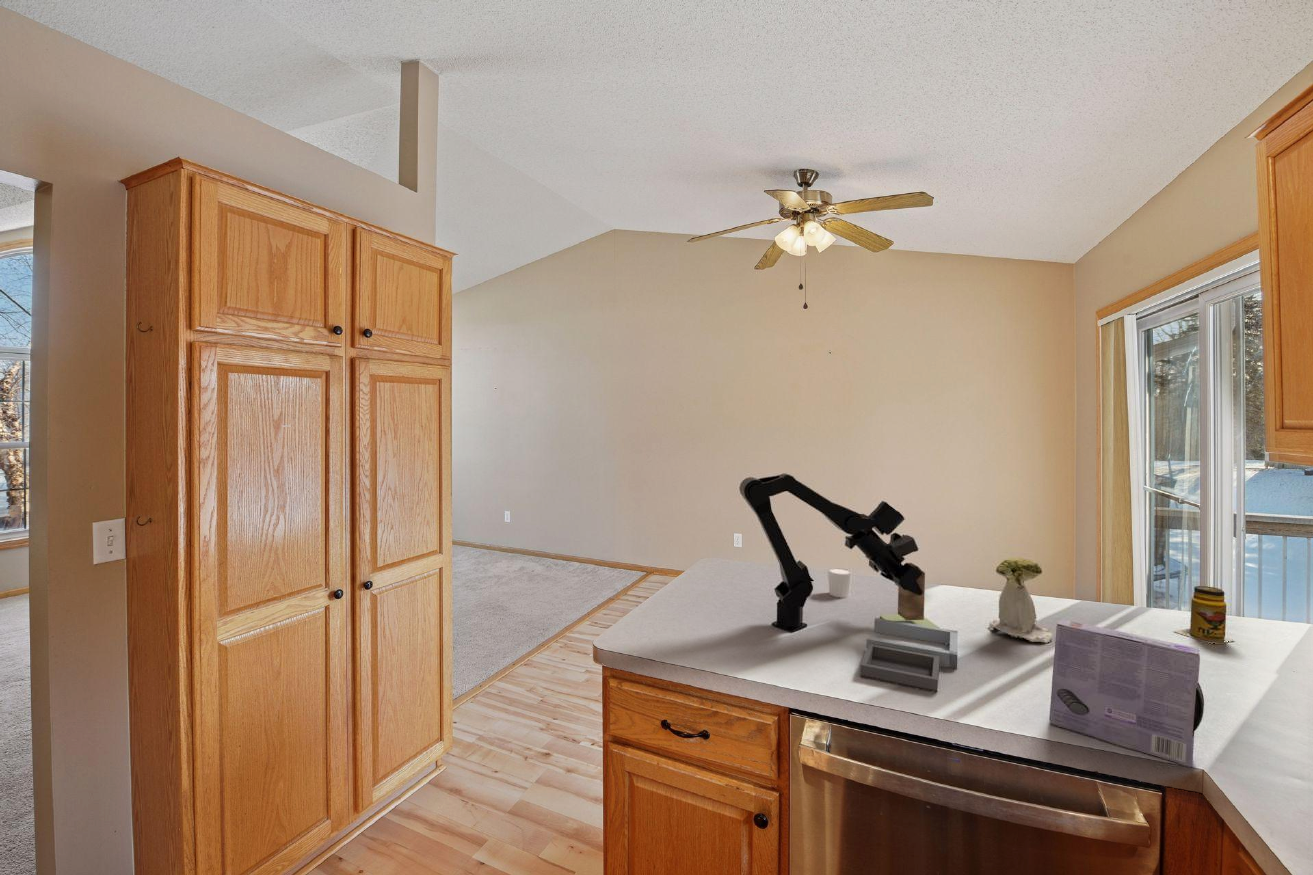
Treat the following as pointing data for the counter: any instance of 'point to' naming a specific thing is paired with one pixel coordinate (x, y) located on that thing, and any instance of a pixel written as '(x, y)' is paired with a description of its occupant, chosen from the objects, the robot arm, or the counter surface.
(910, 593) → the walnut block
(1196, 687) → the cake pan box
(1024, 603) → the mushroom
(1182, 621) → the counter surface
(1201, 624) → the condiment
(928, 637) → the channel
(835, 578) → the white cup
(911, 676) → the tray
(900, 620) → the mat
